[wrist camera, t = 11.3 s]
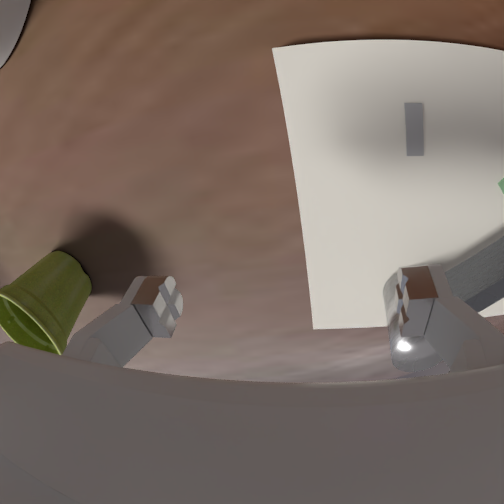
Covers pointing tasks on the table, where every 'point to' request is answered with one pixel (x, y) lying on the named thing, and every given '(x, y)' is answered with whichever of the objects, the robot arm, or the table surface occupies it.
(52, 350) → the plant pot
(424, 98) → the dial board
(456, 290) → the grey lever handle
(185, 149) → the table surface
